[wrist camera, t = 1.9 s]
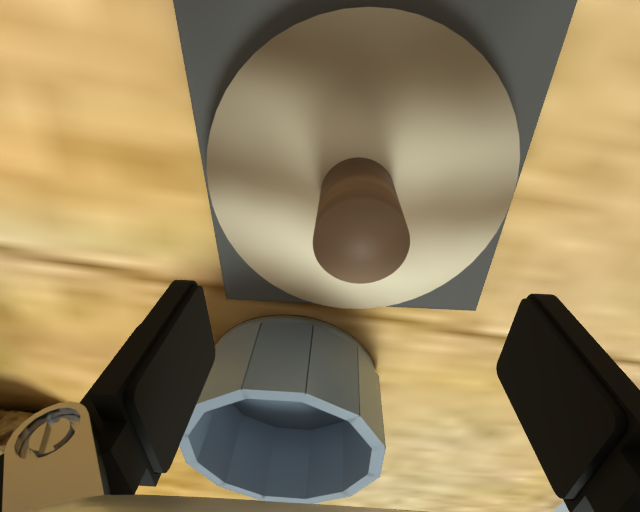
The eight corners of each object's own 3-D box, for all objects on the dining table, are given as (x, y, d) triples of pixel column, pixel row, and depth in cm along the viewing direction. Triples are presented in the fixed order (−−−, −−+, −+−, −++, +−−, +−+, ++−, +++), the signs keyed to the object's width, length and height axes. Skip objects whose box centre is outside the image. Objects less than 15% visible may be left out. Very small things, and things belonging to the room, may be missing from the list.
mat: (175, -6, 14) (171, -8, 14) (573, -6, 13) (579, -7, 13) (228, 295, 23) (226, 298, 22) (473, 306, 22) (475, 310, 22)
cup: (196, 310, 24) (155, 383, 19) (384, 319, 23) (395, 398, 18) (223, 420, 31) (198, 495, 26) (368, 430, 30) (373, 509, 25)
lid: (185, 8, 14) (96, -9, 9) (560, 8, 13) (691, -10, 8) (233, 293, 22) (200, 368, 17) (469, 303, 21) (507, 385, 16)
